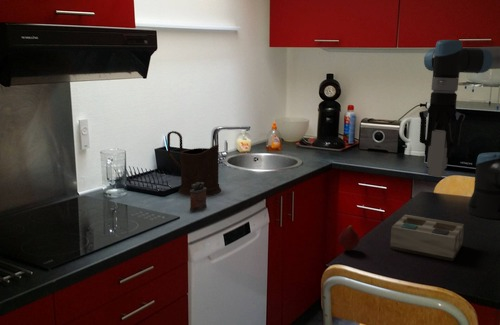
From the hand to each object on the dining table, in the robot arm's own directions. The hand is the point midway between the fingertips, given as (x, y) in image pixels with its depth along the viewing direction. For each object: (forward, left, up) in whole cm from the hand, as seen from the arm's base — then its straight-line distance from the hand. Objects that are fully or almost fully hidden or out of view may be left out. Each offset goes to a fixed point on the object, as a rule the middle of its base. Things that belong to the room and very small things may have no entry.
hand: (436, 166), depth 165 cm
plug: (0, 0, -3) cm, 3 cm away
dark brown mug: (-6, -100, -24) cm, 103 cm away
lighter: (+15, -82, -24) cm, 87 cm away
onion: (+26, -18, -24) cm, 39 cm away
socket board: (+10, +1, -23) cm, 25 cm away
